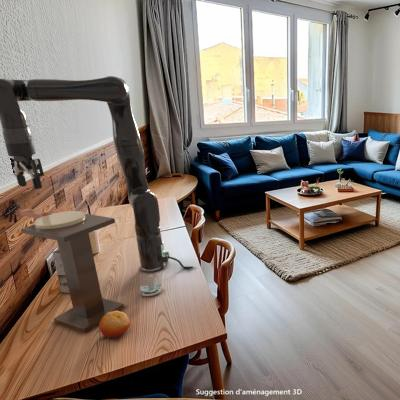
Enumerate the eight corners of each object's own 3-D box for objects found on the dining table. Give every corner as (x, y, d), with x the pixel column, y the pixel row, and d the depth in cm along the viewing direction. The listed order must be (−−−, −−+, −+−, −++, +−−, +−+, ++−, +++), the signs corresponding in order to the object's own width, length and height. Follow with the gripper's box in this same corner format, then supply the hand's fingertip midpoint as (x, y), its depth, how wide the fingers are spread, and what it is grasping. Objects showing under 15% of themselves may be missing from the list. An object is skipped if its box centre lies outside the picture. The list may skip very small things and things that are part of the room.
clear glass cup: (162, 295, 124) (162, 286, 129) (159, 279, 122) (160, 271, 127) (140, 299, 121) (141, 290, 127) (137, 283, 119) (138, 275, 125)
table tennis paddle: (1, 220, 107) (0, 215, 106) (45, 208, 118) (44, 203, 118) (52, 231, 97) (51, 226, 96) (95, 217, 108) (94, 212, 108)
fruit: (101, 322, 106) (111, 302, 105) (126, 332, 108) (136, 312, 106) (88, 340, 99) (99, 318, 97) (115, 350, 100) (126, 329, 99)
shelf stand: (47, 322, 109) (22, 228, 100) (93, 296, 123) (75, 211, 114) (86, 336, 102) (63, 237, 93) (130, 307, 116) (114, 218, 107)
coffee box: (75, 294, 125) (66, 253, 120) (60, 292, 126) (50, 252, 121) (94, 281, 133) (86, 243, 129) (80, 279, 135) (72, 241, 130)
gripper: (-7, 141, 116) (6, 188, 121) (19, 143, 111) (32, 192, 116) (18, 139, 123) (29, 183, 127) (44, 140, 117) (54, 186, 122)
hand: (30, 187), depth 121 cm, fingers open, 8 cm apart
